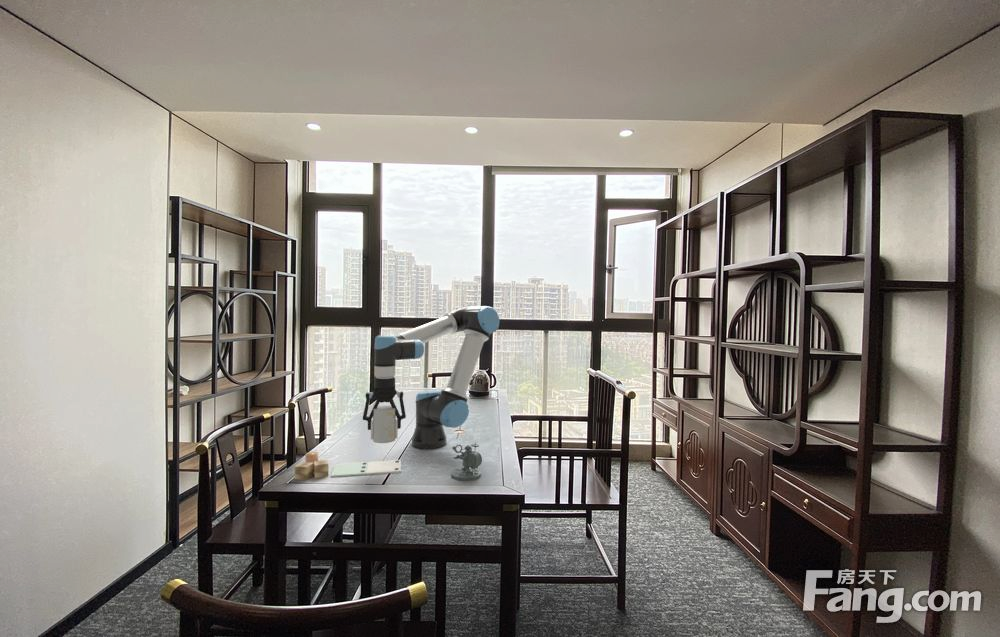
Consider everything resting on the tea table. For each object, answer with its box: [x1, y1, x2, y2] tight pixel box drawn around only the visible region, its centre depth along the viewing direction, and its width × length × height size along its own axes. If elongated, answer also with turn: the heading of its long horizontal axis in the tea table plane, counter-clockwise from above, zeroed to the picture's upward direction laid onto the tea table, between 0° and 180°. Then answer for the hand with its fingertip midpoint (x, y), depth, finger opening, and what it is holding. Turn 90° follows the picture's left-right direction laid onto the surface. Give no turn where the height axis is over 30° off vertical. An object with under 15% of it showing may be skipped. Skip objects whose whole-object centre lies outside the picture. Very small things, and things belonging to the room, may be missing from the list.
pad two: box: [366, 459, 402, 476], centre depth 168 cm, size 12×12×1 cm
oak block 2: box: [313, 459, 329, 479], centre depth 161 cm, size 4×4×4 cm
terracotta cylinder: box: [304, 451, 319, 463], centre depth 166 cm, size 4×4×6 cm
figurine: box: [451, 442, 483, 482], centre depth 161 cm, size 11×11×12 cm
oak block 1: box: [294, 461, 314, 481], centre depth 158 cm, size 4×4×4 cm
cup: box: [372, 405, 397, 444], centre depth 168 cm, size 8×8×12 cm
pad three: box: [330, 461, 370, 478], centre depth 166 cm, size 12×12×1 cm
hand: (384, 437), depth 168 cm, fingers closed on cup, 8 cm apart
